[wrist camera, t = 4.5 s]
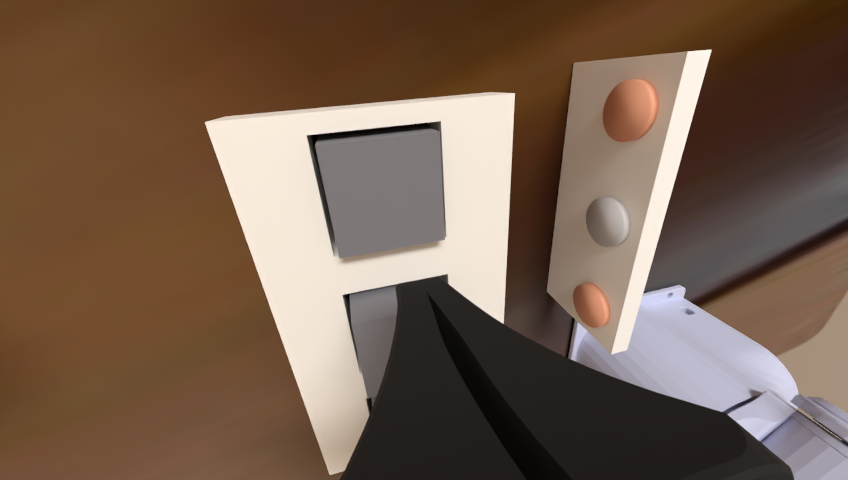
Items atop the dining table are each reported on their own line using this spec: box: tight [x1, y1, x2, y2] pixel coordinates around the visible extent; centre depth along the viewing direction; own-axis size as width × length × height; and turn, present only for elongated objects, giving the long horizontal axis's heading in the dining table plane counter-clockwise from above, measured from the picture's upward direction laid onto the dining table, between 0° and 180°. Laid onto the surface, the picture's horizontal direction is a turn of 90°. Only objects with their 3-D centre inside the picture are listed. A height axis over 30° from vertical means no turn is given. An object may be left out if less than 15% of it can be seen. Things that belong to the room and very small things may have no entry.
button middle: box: [349, 276, 442, 398], centre depth 17 cm, size 5×5×3 cm
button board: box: [205, 92, 515, 475], centre depth 19 cm, size 12×22×2 cm, turn 4°
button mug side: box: [315, 124, 445, 259], centre depth 15 cm, size 5×5×3 cm
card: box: [547, 50, 711, 354], centre depth 17 cm, size 1×14×6 cm, turn 4°
